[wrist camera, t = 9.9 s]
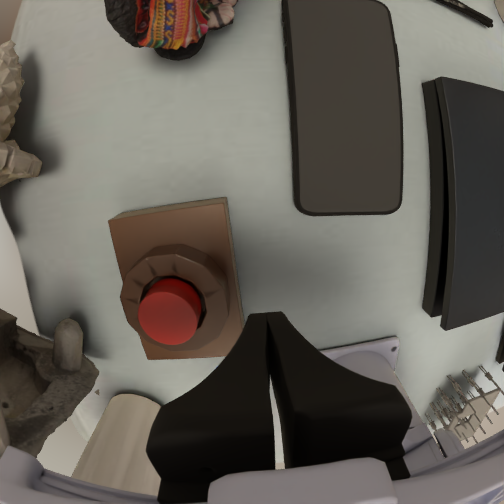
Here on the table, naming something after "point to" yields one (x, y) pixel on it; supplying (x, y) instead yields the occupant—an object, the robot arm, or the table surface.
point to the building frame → (466, 410)
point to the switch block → (182, 271)
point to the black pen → (468, 11)
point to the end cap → (501, 352)
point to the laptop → (436, 205)
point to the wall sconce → (22, 341)
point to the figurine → (169, 23)
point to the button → (170, 311)
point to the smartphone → (344, 107)
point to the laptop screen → (473, 200)
